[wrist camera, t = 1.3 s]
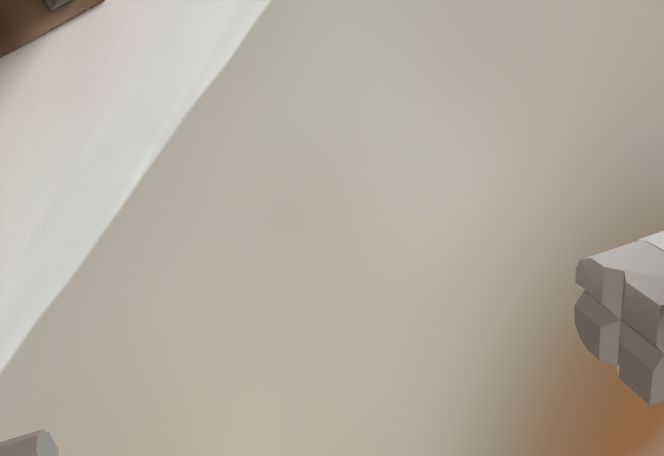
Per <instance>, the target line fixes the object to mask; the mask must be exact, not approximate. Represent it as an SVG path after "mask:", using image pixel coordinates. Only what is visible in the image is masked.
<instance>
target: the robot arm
mask: <svg viewBox="0 0 664 456" xmlns="http://www.w3.org/2000/svg"><path fill="white" fill-rule="evenodd" d="M575 280H576V281H575V282H576V284H577V285H578V286H579V287H580V288H581V289H582V290H583V293H582V294H581V296H580V298H579V299H578V301H577V302H576V304H575V325H576V327H577V330H578V333H579V336H580V339H581V340H582V342H583V343H584V345H585V346H586V348H587V349H588V350H589V351H590V352H591V353H592V354H593V355H594V356H595V357H596V358H597V359H598V360H600V361H603V362H606V363H609V364H613V365H616V366H617V368H618V378H619V379H620V380H622V381H623V382H624V383H625V384H626V385H627V386H629V388H630V389H632V390H633V391H634V392H635V393H636V394H637V395H638V396H640V397H641V398H642V399H643V400H644V401H645V402H646V403H647V404H648V405H652V404H655V403H658V402H661V401H664V231H662V232H659V233H656V234H653V235H650V236H647V237H644V238H642V239H639V240H636V241H635V242H633V243H630V244H627V245H624V246H621V247H617V248H614V249H611V250H608V251H605V252H602V253H599V254H596V255H593V256H590V257H586V258H583V259H581V260H580V261H579V263H578V265H577V268H576V279H575ZM58 452H59V450H58V448H57V446H56V444H55V442H54V441H53V439H52V437H51V435H50V433H49V432H47V431H45V430H39V431H36V432H32V433H29V434H26V435H22V436H19V437H16V438H12V439H9V440H5V441H2V442H0V456H58Z"/></svg>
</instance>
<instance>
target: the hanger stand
mask: <svg viewBox="0 0 664 456" xmlns="http://www.w3.org/2000/svg"><path fill="white" fill-rule="evenodd" d="M102 1H104V0H0V58H1V57H2V56H4V55H6V54H8V53H10V52H11V51H13V50H15V49H17V48H19V47H20V46H22V45H24V44H26V43H28V42H30V41H31V40H33V39H35V38H37V37H39V36H40V35H42V34H44V33H46V32H48V31H49V30H51V29H53V28H55V27H57V26H58V25H60V24H62V23H64V22H66V21H68V20H69V19H71V18H73V17H75V16H77V15H78V14H80V13H82V12H84V11H86V10H87V9H89V8H91V7H93V6H95V5H97V4H98V3H100V2H102Z"/></svg>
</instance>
